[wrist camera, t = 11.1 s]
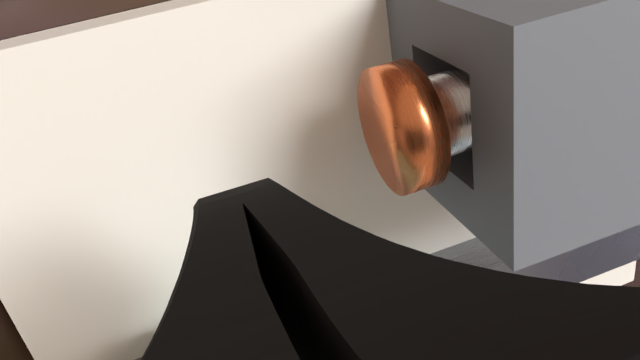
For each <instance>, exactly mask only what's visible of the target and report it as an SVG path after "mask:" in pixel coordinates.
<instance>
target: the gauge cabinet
mask: <svg viewBox="0 0 640 360" xmlns="http://www.w3.org/2000/svg"><path fill="white" fill-rule="evenodd" d="M386 7H387V17H388V26H389V36H390V45H391V54H392V61H396V60H399V59H404V58H405V59H409V60H412V61H413V62H415V63H416V64H417V65H418V66H419V67H421V69H422V70H423V71H424V72H425V74H426V75H427V76H430V75H433V74H437V73H440V72H444V71H447V70H451V69H454V68H459V69H461V70H463V71H465V72H467V73H469V78H470V103H471V129H472V149H471V150H468V151H465V152H462V153H459V154H456V155H453V156H451V162H450V169H449V172H448V175H447V177H446V179H445V180H444V182H442V183H441V184H439V185H436V186H433V187H430V188H427V189H425V190H426V191H427V192H428V193H429V194H430V195H431V196H432V197H434V198H435V199H436V200H437V201H438V202H439V203H440V204H441V205H442V206H443V207H444V208H445V209H446V210H448V211H449V212H450V213H451V214H452V215H453V216H454V217H455V218H456V219H457V220H458V221H459V222H461V223H462V224H463V225H464V226H465V227H466V228H467V229H468V230H469V231H470V232H471V233H472V234H473V235H475V236H476V237H477V238H478V239H479V240H480V241H481V242H482V243H483V244H484V245H485V246H486V247H487V248H489V249H490V250H491V251H492V252H493V253H494V254H495V255H496V256H497V257H498V258H499V259H500V260H501V261H503V262H504V263H505V264H506V265H507V266H508V267H509V268H510V269H511V270H512V271H513V272H515V271H518V270H520V269H523V268H525V267H528V266H531V265H533V264H536V263H539V262H541V261H544V260H547V259H549V258H552V257H555V256H557V255H560V254H563V253H565V252H568V251H571V250H573V249H576V248H579V247H581V246H584V245H587V244H589V243H592V242H594V241H597V240H600V239H602V238H605V237H608V236H610V235H613V234H616V233H618V232H621V231H624V230H626V229H629V228H632V227H634V226H637V225H640V0H386Z"/></svg>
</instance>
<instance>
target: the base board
mask: <svg viewBox="0 0 640 360" xmlns="http://www.w3.org/2000/svg"><path fill="white" fill-rule="evenodd" d="M389 62H392V54H391V45H390V36H389V26H388V17H387V7H386V0H171V1H167V2H163V3H159V4H154V5H150V6H146V7H141V8H137V9H133V10H129V11H124V12H120V13H116V14H112V15H107V16H103V17H99V18H95V19H90V20H86V21H82V22H78V23H73V24H69V25H65V26H60V27H56V28H52V29H48V30H43V31H39V32H35V33H31V34H26V35H22V36H18V37H14V38H9V39H5V40H1V41H0V300H1V301H2V303H3V305H4V307H5V309H6V310H7V312H8V314H9V316H10V317H11V319H12V321H13V323H14V325H15V326H16V328H17V330H18V332H19V333H20V335H21V337H22V339H23V341H24V342H25V344H26V346H27V348H28V349H29V351H30V353H31V355H32V357H33V358H34V360H135V359H137V358H140V357H142V356H143V355H144V353H145V351H146V349H147V347H148V345H149V343H150V341H151V339H152V337H153V334H154V333H155V331H156V329H157V327H158V325H159V323H160V321H161V319H162V316H163V314H164V312H165V310H166V307H167V305H168V302H169V300H170V297H171V294H172V292H173V289H174V287H175V284H176V281H177V279H178V276H179V273H180V270H181V267H182V263H183V260H184V256H185V253H186V249H187V246H188V242H189V238H190V233H191V228H192V222H193V212H194V211H193V207H194V205H195V203H196V202H197V200H198V199H200V198H203V197H206V196H210V195H213V194H216V193H220V192H223V191H226V190H229V189H233V188H236V187H239V186H243V185H246V184H249V183H252V182H256V181H259V180H262V179H266V178H270V179H272V180H273V181H275V182H277V183H279V184H280V185H282V186H283V187H285V188H287V189H288V190H290V191H291V192H293V193H295V194H296V195H298V196H300V197H301V198H303V199H305V200H306V201H308V202H310V203H311V204H313V205H315V206H317V207H318V208H320V209H322V210H324V211H326V212H328V213H329V214H331V215H333V216H335V217H337V218H339V219H341V220H343V221H345V222H347V223H349V224H351V225H353V226H356V227H358V228H360V229H363V230H365V231H367V232H369V233H372V234H374V235H376V236H379V237H381V238H384V239H386V240H389V241H392V242H394V243H397V244H400V245H403V246H406V247H409V248H412V249H415V250H418V251H421V252H425V253H428V254H431V253H434V252H437V251H439V250H442V249H445V248H448V247H451V246H453V245H456V244H459V243H462V242H465V241H467V240H470V239H473V238H476V236H475V235H473V234H472V233H471V232H470V231H469V230H468V229H467V228H466V227H465V226H464V225H463V224H462V223H461V222H459V221H458V220H457V219H456V218H455V217H454V216H453V215H452V214H451V213H450V212H449V211H448V210H446V209H445V208H444V207H443V206H442V205H441V204H440V203H439V202H438V201H437V200H436V199H435V198H434V197H432V196H431V195H430V194H429V193H428V192H427V191H426V190H425V189H424V190H421V191H418V192H415V193H412V194H409V195H406V196H399V195H397V194H396V193H394V192H393V191H392V190H391V189H390V188H389V187H388V186H387V185H386V183H385V182H384V180H383V179H382V177H381V176H380V174H379V172H378V170H377V168H376V166H375V164H374V162H373V160H372V157H371V155H370V152H369V150H368V147H367V144H366V141H365V138H364V134H363V130H362V126H361V121H360V116H359V109H358V82H359V78H360V75H361V73H362V72H363V71H364V70H365V69H367V68H371V67H374V66H378V65H381V64H385V63H389ZM635 266H636V261H633V262H631V263H628V264H626V265H623V266H621V267H618V268H615V269H613V270H610V271H608V272H605V273H603V274H600V275H598V276H595V277H592V278H590V279H587V280H585V281H582V282H580V283H585V284H597V285H612V286H621V285H623V284H626V283H628V282H631V281H633V280H634V274H635Z"/></svg>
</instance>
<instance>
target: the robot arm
mask: <svg viewBox="0 0 640 360" xmlns="http://www.w3.org/2000/svg"><path fill="white" fill-rule="evenodd" d="M193 211H194V212H193V222H192V228H191V233H190V238H189V242H188V246H187V249H186V253H185V256H184V260H183V263H182V267H181V270H180V273H179V276H178V279H177V281H176V284H175V287H174V289H173V292H172V294H171V297H170V300H169V302H168V305H167V307H166V310H165V312H164V314H163V316H162V319H161V321H160V323H159V325H158V327H157V329H156V331H155V333H154V335H153V337H152V339H151V341H150V343H149V345H148V347H147V349H146V351H145V353H144V355H143V356H142V358H141V360H640V287H627V286H612V285H597V284H585V283H575V282H568V281H560V280H553V279H546V278H538V277H531V276H525V275H519V274H513V273H507V272H502V271H496V270H492V269H487V268H483V267H479V266H474V265H470V264H465V263H461V262H456V261H452V260H449V259H445V258H441V257H438V256H434V255H431V254H428V253H425V252H421V251H418V250H415V249H412V248H409V247H406V246H403V245H400V244H397V243H394V242H392V241H389V240H386V239H384V238H381V237H379V236H376V235H374V234H372V233H369V232H367V231H365V230H363V229H360V228H358V227H356V226H353V225H351V224H349V223H347V222H345V221H343V220H341V219H339V218H337V217H335V216H333V215H331V214H329V213H328V212H326V211H324V210H322V209H320V208H318V207H317V206H315V205H313V204H311V203H310V202H308V201H306V200H305V199H303V198H301V197H300V196H298V195H296V194H295V193H293V192H291V191H290V190H288V189H287V188H285V187H283V186H282V185H280V184H279V183H277V182H275V181H273V180H272V179H270V178H266V179H262V180H259V181H256V182H252V183H249V184H246V185H243V186H239V187H236V188H233V189H229V190H226V191H223V192H220V193H216V194H213V195H210V196H206V197H203V198H200V199H198V200H197V202H196V203H195V205H194V207H193Z"/></svg>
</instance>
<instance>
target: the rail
mask: <svg viewBox="0 0 640 360" xmlns="http://www.w3.org/2000/svg"><path fill="white" fill-rule="evenodd" d="M431 255H434V256H438V257H441V258H445V259H449V260H452V261H456V262H461V263H465V264H470V265H474V266H479V267H483V268H487V269H492V270H496V271H502V272H507V273H513V274H519V275H525V276H531V277H538V278H546V279H553V280H560V281H568V282H575V283H580V282H582V281H585V280H587V279H590V278H592V277H595V276H598V275H600V274H603V273H605V272H608V271H610V270H613V269H615V268H618V267H621V266H623V265H626V264H628V263H631V262H633V261H636V260H638V259H639V258H640V225H637V226H634V227H632V228H629V229H626V230H624V231H621V232H618V233H616V234H613V235H610V236H608V237H605V238H602V239H600V240H597V241H594V242H592V243H589V244H587V245H584V246H581V247H579V248H576V249H573V250H571V251H568V252H565V253H563V254H560V255H557V256H555V257H552V258H549V259H547V260H544V261H541V262H539V263H536V264H533V265H531V266H528V267H525V268H523V269H520V270H518V271H515V272H513V271H512V270H511V269H510V268H509V267H508V266H507V265H506V264H505V263H504V262H503V261H501V260H500V259H499V258H498V257H497V256H496V255H495V254H494V253H493V252H492V251H491V250H490V249H489V248H487V247H486V246H485V245H484V244H483V243H482V242H481V241H480V240H479V239H478V238H477V237H476V238H473V239H470V240H467V241H465V242H462V243H459V244H456V245H453V246H451V247H448V248H445V249H442V250H439V251H437V252H434V253H431ZM141 358H142V357H140V358H137V359H135V360H141Z"/></svg>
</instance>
